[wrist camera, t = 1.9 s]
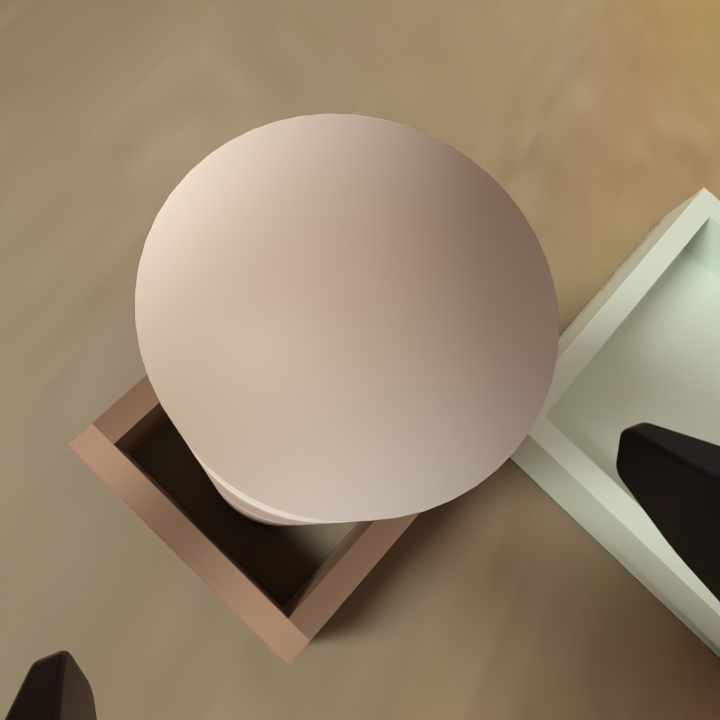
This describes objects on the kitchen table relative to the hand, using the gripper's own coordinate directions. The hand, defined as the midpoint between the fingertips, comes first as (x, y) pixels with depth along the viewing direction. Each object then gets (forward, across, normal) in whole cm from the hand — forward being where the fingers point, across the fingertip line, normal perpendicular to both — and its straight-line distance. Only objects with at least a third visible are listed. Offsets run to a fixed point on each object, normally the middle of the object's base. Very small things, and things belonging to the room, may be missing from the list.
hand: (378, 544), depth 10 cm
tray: (+6, -14, +8) cm, 18 cm away
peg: (+9, 0, +6) cm, 11 cm away
